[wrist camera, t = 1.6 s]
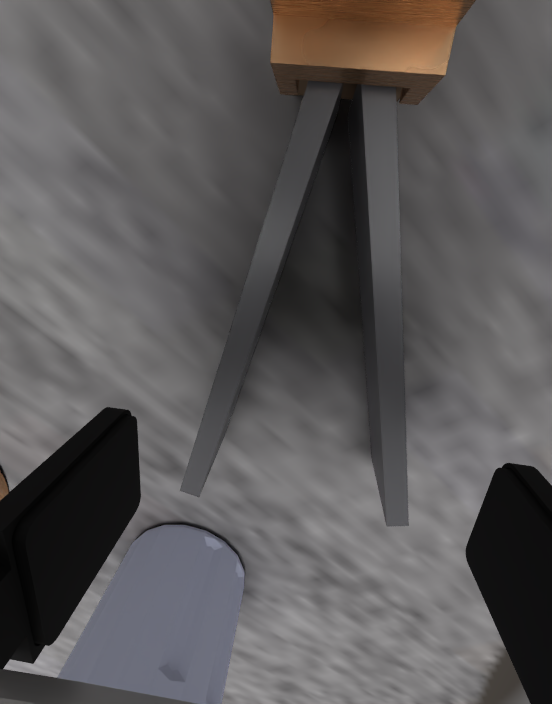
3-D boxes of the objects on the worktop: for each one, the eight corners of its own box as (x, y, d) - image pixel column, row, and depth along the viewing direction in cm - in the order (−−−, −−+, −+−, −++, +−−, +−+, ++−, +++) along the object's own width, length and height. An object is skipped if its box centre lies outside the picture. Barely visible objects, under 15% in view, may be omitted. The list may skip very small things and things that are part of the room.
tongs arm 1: (315, 105, 15) (315, 59, 11) (337, 113, 15) (346, 71, 11) (208, 432, 22) (179, 490, 17) (223, 437, 22) (198, 497, 18)
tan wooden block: (286, 19, 11) (257, -163, 6) (432, 28, 11) (547, -153, 6) (280, 94, 12) (249, -4, 7) (417, 104, 12) (505, 11, 6)
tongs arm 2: (347, 114, 15) (360, 72, 11) (371, 109, 15) (395, 64, 10) (371, 458, 22) (386, 526, 17) (388, 457, 21) (408, 525, 17)
